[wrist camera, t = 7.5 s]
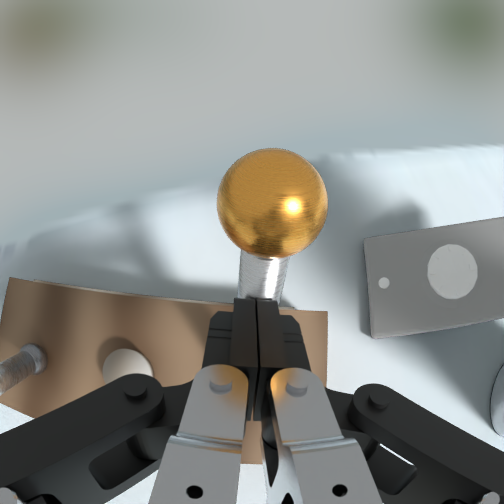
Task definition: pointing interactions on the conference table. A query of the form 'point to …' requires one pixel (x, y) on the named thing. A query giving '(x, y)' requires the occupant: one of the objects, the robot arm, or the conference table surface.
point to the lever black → (22, 366)
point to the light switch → (435, 278)
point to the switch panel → (120, 343)
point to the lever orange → (270, 216)
